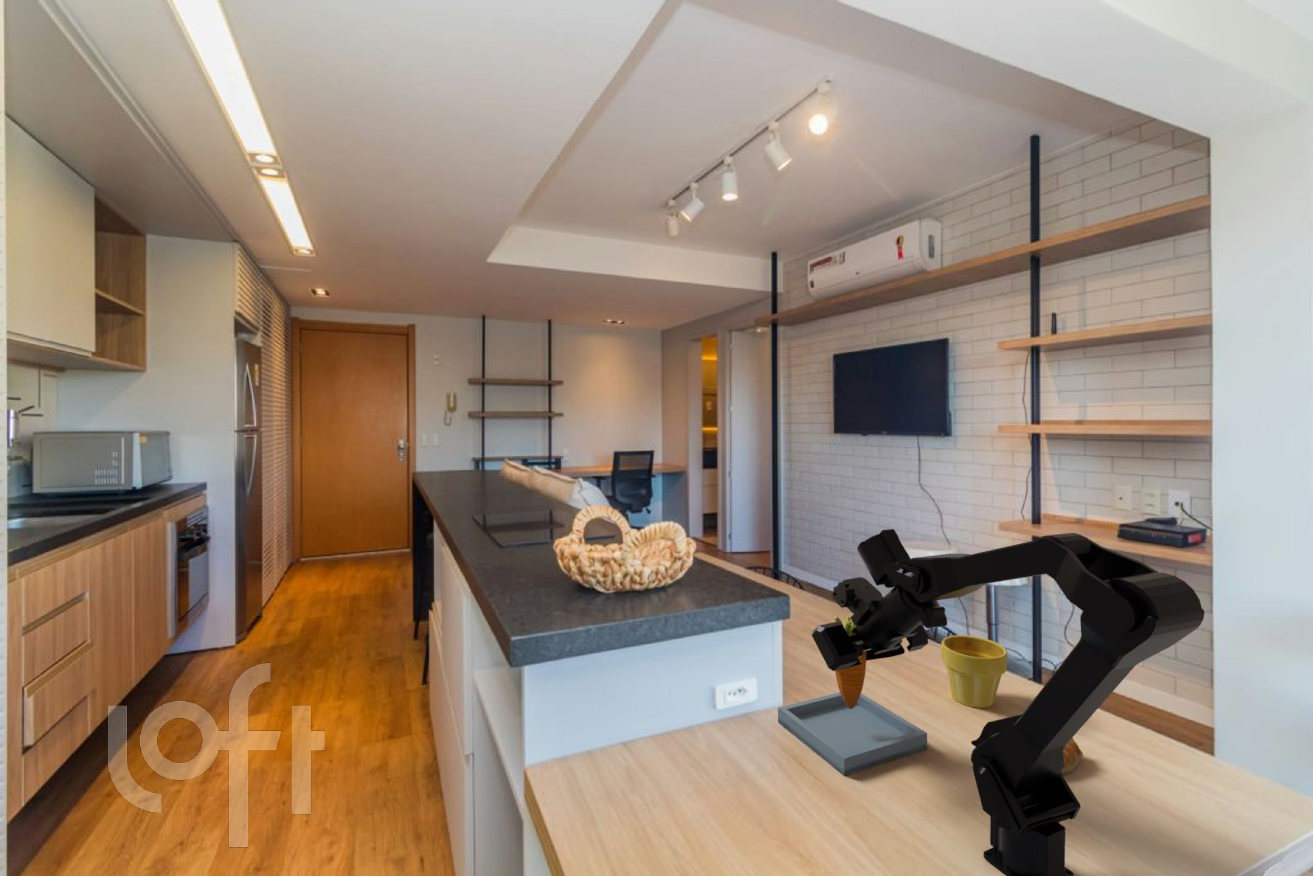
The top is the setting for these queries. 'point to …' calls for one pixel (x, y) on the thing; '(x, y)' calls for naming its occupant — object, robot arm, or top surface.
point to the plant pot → (973, 668)
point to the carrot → (851, 674)
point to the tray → (851, 732)
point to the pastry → (1071, 756)
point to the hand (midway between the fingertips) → (844, 661)
